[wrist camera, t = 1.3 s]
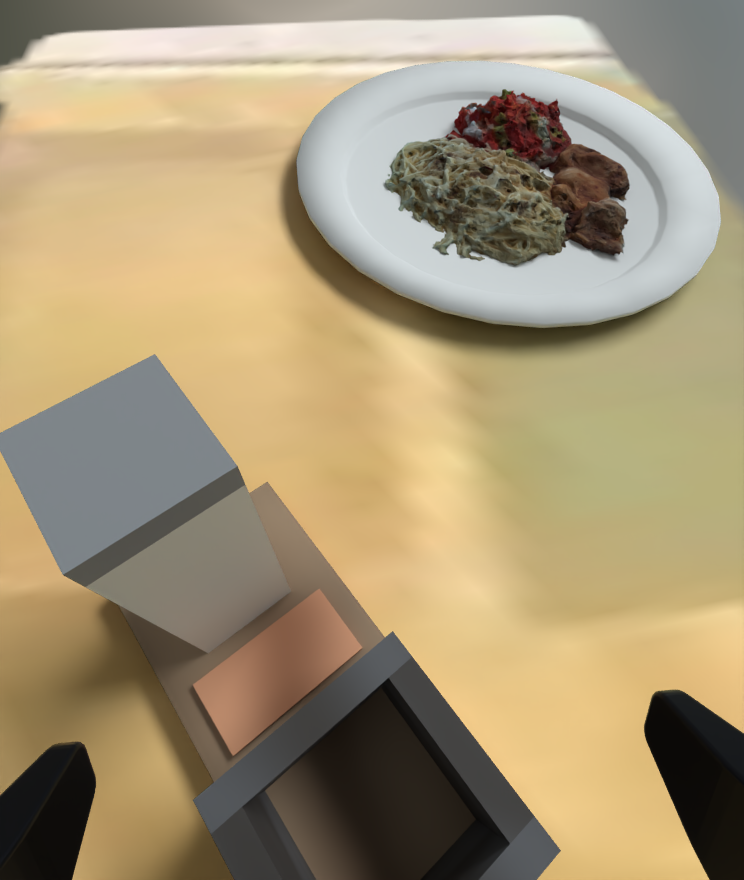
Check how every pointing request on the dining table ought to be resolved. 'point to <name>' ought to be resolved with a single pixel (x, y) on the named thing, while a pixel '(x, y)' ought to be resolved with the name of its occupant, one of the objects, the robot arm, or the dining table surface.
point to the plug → (147, 506)
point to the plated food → (508, 193)
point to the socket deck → (336, 743)
